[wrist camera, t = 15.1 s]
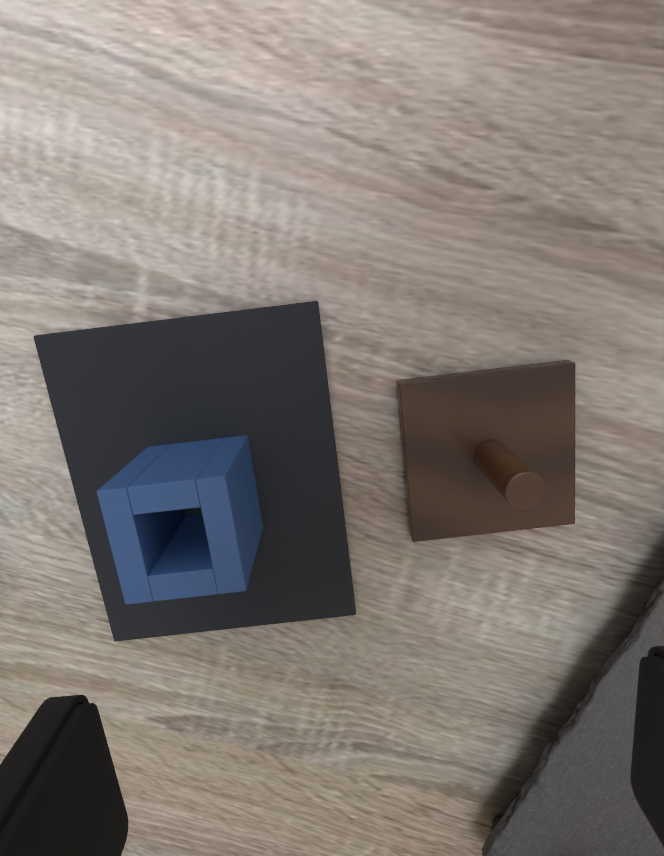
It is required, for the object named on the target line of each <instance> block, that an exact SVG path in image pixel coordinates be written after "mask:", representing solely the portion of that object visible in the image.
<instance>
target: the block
mask: <svg viewBox="0 0 664 856" xmlns="http://www.w3.org/2000/svg"><path fill="white" fill-rule="evenodd" d="M97 495H98V499H99V503H100V507H101V511H102V515H103V519H104V523H105V526H106V530H107V534H108V538H109V542H110V546H111V550H112V554H113V558H114V562H115V566H116V570H117V574H118V578H119V581H120V585H121V589H122V593H123V597H124V601H125V604H134V603H143V602H152V601H161V600H170V599H178V598H187V597H196V596H205V595H214V594H223V593H232V592H241V591H246V589H247V586H248V582H249V578H250V574H251V571H252V567H253V563H254V559H255V556H256V552H257V548H258V544H259V541H260V537H261V533H262V530H263V523H262V517H261V511H260V505H259V499H258V493H257V487H256V481H255V475H254V469H253V464H252V458H251V452H250V446H249V440H248V435H244V436H235V437H227V438H219V439H210V440H202V441H193V442H185V443H176V444H171V445H170V444H167V445H159V446H150V447H147V448H146V449H145V450H144V451H142V452H141V453H140V454H139V455H138V456H137V457H135V458H134V459H133V460H132V461H131V462H130V463H129V464H127V465H126V466H125V467H124V468H123V469H122V470H120V471H119V472H118V473H117V474H116V475H115V476H114V477H112V478H111V479H110V480H109V481H108V482H107V483H106V484H104V485H103V486H102V487H101V488H100V489H99V490H97ZM197 507H201V510H202V514H195V515H186V516H185V511H184V509H189V508H197Z"/></svg>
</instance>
